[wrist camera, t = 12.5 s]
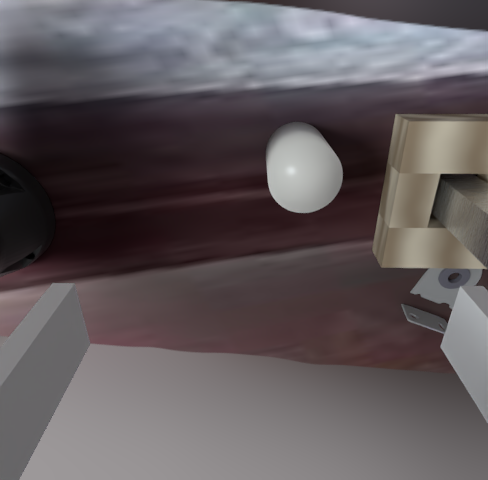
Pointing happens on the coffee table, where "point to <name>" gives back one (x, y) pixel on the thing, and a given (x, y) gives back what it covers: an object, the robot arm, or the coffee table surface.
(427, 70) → the coffee table surface
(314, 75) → the coffee table surface
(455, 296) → the bracket
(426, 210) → the socket block
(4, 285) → the coffee table surface
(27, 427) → the robot arm
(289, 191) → the plastic dowel
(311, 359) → the coffee table surface
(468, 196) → the grey long block
